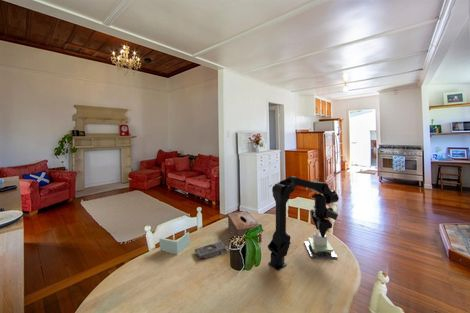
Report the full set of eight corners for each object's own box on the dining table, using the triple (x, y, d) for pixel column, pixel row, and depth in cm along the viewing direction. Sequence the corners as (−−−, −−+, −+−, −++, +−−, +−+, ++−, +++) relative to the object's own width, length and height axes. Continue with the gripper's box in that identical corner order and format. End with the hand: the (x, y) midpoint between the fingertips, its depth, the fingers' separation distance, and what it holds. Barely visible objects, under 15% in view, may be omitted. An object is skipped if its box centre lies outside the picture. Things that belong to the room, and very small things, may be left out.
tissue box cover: (261, 241, 128) (261, 225, 127) (238, 245, 124) (237, 229, 123) (248, 224, 153) (247, 211, 152) (228, 227, 149) (227, 213, 148)
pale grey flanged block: (333, 251, 109) (333, 240, 108) (312, 250, 110) (313, 239, 110) (326, 240, 121) (326, 229, 120) (308, 239, 122) (308, 229, 122)
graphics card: (219, 237, 128) (228, 246, 117) (220, 243, 128) (229, 252, 118) (192, 245, 120) (199, 255, 109) (192, 252, 120) (199, 262, 110)
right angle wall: (190, 244, 128) (189, 232, 127) (177, 255, 117) (176, 242, 116) (173, 241, 132) (172, 229, 131) (160, 251, 121) (159, 238, 120)
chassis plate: (337, 258, 108) (337, 253, 108) (311, 258, 109) (311, 252, 109) (327, 243, 123) (327, 238, 123) (304, 243, 124) (304, 238, 124)
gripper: (343, 211, 103) (342, 242, 105) (330, 199, 122) (329, 225, 124) (319, 211, 104) (319, 242, 106) (310, 199, 123) (309, 225, 125)
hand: (320, 233), depth 115 cm, fingers open, 9 cm apart
